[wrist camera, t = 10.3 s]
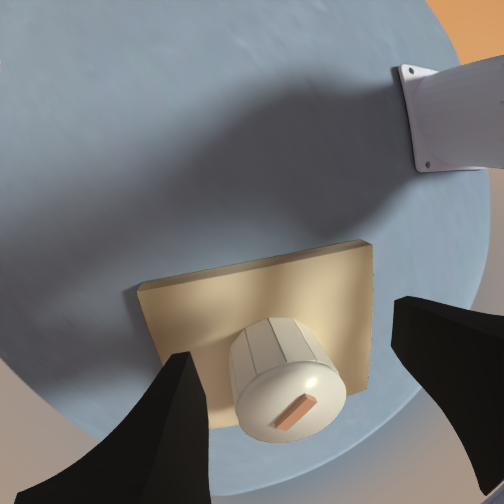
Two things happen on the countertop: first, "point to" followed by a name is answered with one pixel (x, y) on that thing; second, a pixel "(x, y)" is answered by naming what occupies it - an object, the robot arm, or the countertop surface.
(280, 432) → the cream short cylinder
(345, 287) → the post board
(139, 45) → the countertop surface
